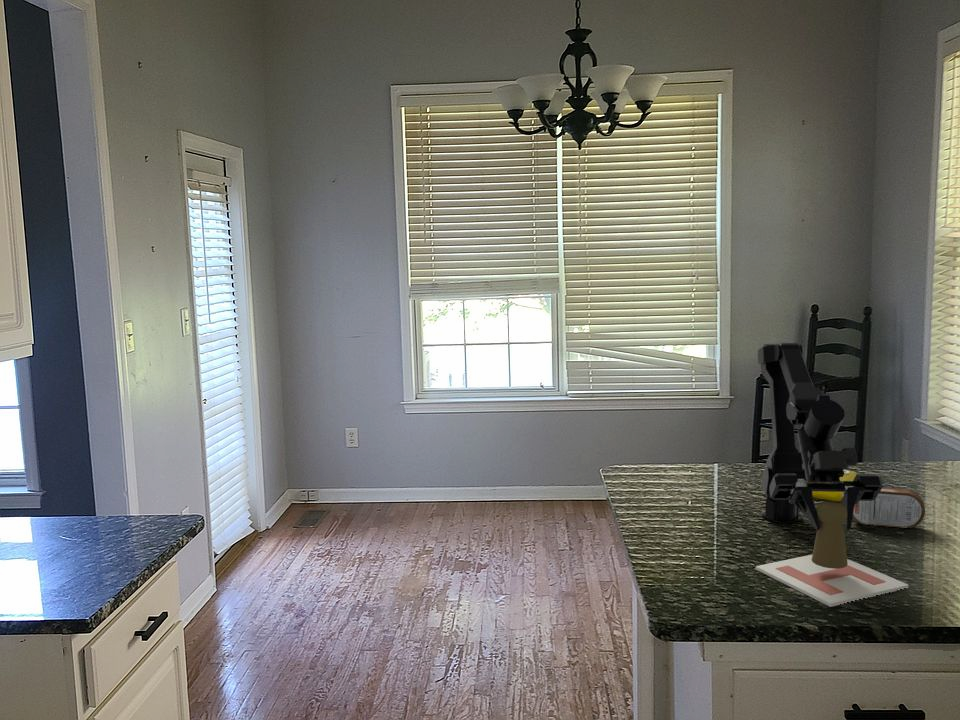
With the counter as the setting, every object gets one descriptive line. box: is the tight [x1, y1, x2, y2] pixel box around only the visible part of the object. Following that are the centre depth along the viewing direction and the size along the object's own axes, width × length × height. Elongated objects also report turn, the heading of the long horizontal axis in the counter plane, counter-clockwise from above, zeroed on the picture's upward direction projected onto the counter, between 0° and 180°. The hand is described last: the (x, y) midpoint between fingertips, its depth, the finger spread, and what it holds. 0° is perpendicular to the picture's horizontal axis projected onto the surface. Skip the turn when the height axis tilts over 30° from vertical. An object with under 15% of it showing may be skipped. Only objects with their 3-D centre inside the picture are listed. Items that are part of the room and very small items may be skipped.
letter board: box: [755, 553, 909, 608], centre depth 149 cm, size 18×18×1 cm
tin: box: [852, 486, 926, 529], centre depth 175 cm, size 15×3×8 cm, turn 71°
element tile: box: [812, 469, 858, 502], centre depth 203 cm, size 15×15×5 cm
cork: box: [811, 501, 848, 569], centre depth 148 cm, size 6×6×11 cm
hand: (833, 529), depth 147 cm, fingers closed on cork, 5 cm apart
